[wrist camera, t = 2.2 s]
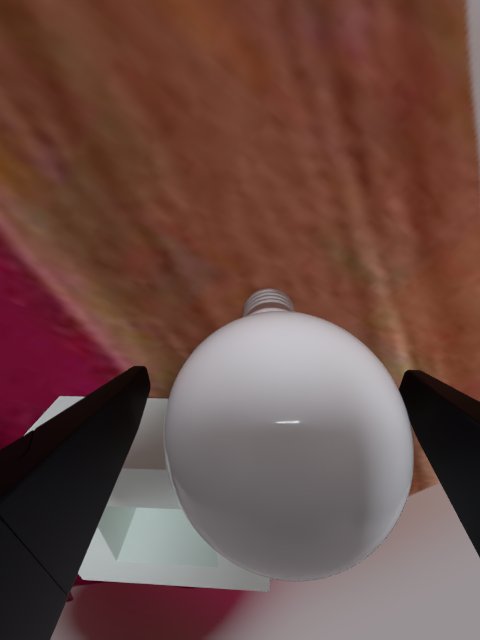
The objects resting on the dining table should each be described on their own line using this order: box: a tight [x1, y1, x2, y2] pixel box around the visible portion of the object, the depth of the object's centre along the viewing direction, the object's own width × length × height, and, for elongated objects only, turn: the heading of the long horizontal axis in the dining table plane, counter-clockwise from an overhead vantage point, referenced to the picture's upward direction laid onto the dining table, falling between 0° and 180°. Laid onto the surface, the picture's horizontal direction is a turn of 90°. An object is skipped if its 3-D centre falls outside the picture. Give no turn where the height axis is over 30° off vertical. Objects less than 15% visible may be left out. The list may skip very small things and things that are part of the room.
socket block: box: [25, 396, 270, 592], centre depth 19 cm, size 15×15×5 cm
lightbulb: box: [163, 288, 414, 581], centre depth 9 cm, size 6×6×11 cm
